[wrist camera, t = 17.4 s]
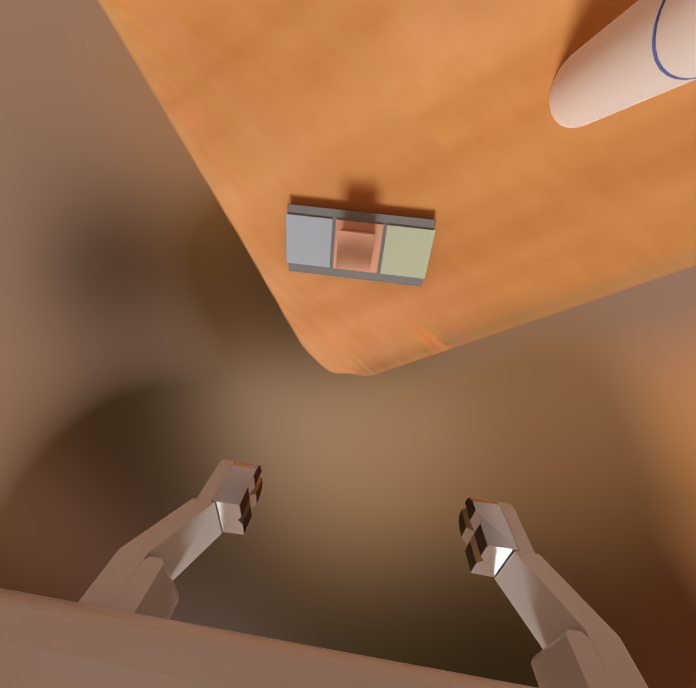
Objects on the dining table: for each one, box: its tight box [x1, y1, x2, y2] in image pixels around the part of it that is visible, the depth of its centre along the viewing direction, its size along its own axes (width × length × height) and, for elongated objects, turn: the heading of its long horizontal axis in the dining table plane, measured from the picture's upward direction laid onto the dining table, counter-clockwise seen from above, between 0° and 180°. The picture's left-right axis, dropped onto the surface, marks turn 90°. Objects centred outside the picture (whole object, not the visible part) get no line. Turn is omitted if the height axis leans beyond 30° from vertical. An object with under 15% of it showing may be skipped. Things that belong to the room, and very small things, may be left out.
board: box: [286, 204, 436, 286], centre depth 38 cm, size 9×20×2 cm, turn 84°
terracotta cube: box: [336, 228, 375, 272], centre depth 35 cm, size 4×4×4 cm
